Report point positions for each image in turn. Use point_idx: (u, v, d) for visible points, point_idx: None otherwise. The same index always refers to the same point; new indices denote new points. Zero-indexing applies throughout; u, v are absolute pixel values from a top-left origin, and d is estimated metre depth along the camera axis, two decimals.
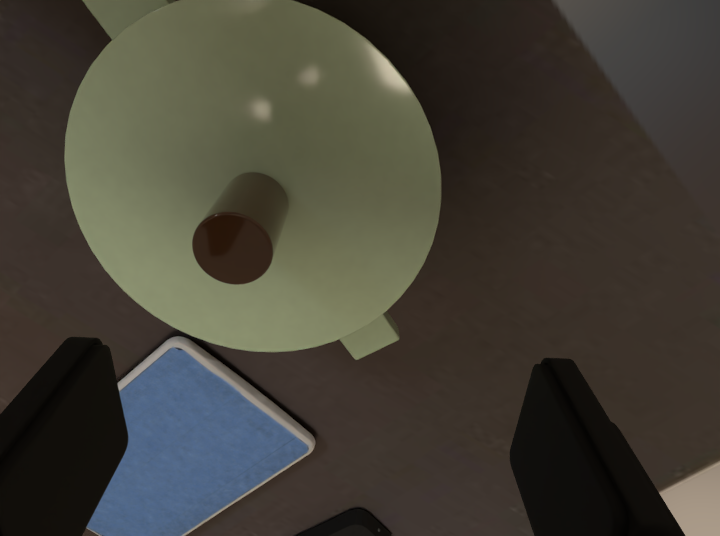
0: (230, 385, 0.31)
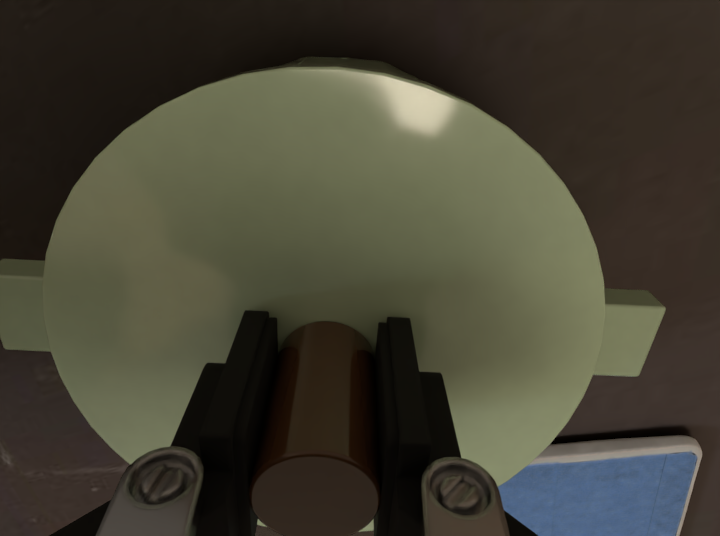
0: (541, 464, 0.24)
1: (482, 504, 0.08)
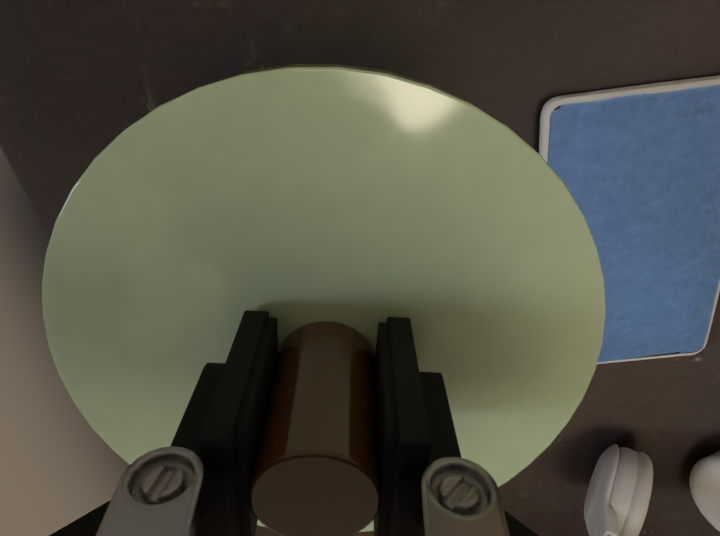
0: (630, 96, 0.27)
1: (482, 505, 0.08)
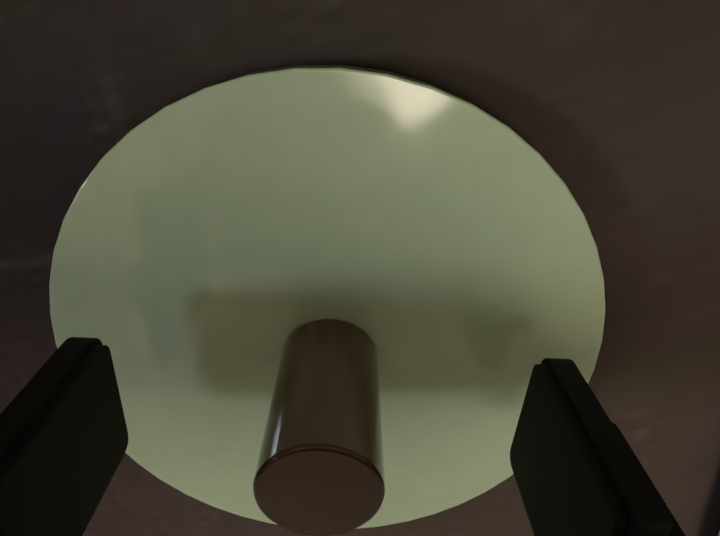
0: None
1: None
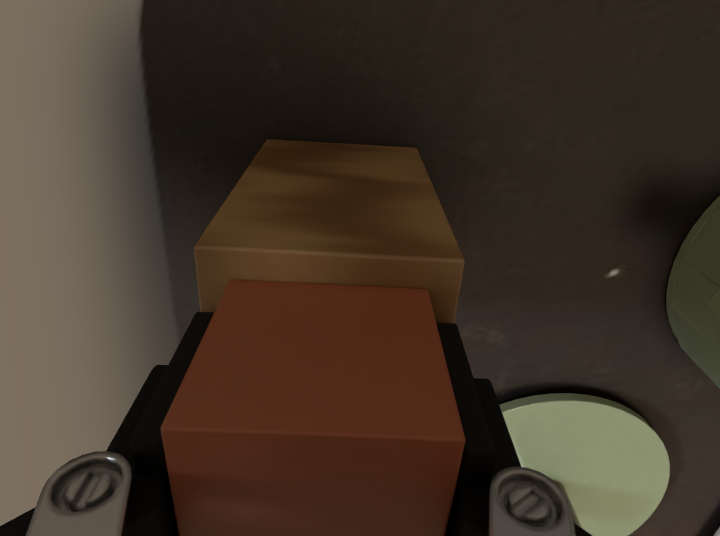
0: None
1: (551, 520, 0.08)
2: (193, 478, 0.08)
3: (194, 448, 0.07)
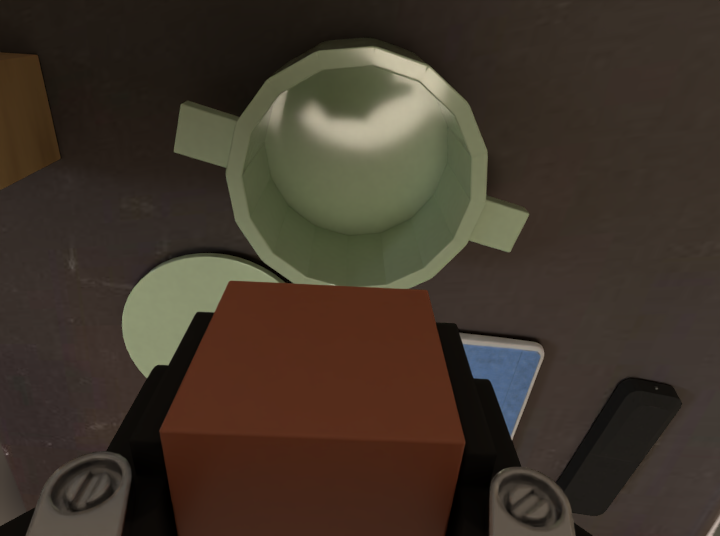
0: None
1: (551, 519, 0.08)
2: (192, 480, 0.08)
3: (193, 450, 0.07)
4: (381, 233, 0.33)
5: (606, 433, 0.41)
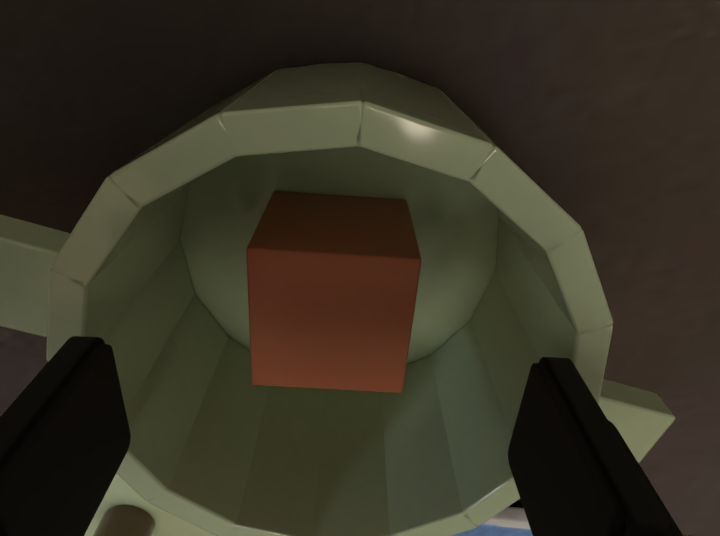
0: None
1: None
2: (262, 284, 0.13)
3: (265, 262, 0.13)
4: None
5: None
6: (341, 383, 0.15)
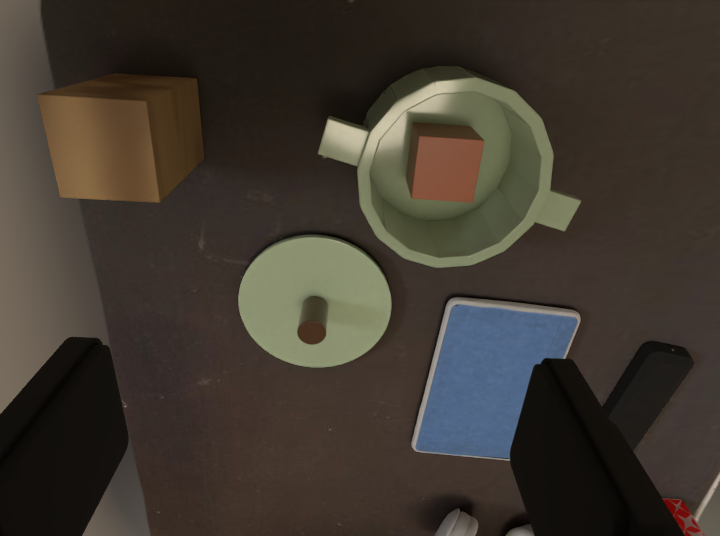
0: (499, 308, 0.44)
1: None
2: (422, 151, 0.34)
3: (425, 141, 0.34)
4: (453, 218, 0.41)
5: (630, 388, 0.49)
6: (448, 197, 0.36)
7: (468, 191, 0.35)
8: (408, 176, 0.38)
